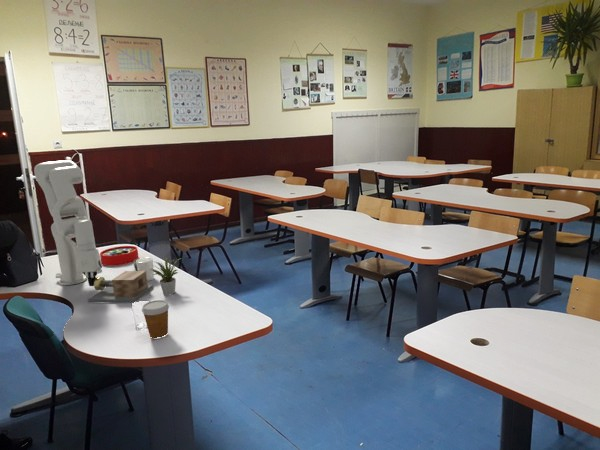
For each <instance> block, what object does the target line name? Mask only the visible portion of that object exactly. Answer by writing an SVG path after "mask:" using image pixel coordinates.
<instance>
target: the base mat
mask: <svg viewBox="0 0 600 450" xmlns="http://www.w3.org/2000/svg"><path fill="white" fill-rule="evenodd" d="M153 289H154V285H153V284H148V288H146V289H145V290H144V291H142V292H141V293H140V294H139V295H137V296H136V297H114V291H113V287H105V288H104V289H103V290H99V291H98V292H97V293H95V294H94V295H91V297H89V298H88V299H87V303H88V302H116V303H115V304H117V302H118V304H119V303H120V304H125V303H126V304H129V303H130V304H133V303H132V302H135V301H137V302H138V301H139V300H140V299H141V298H143V297H144V296H145V295H146V294H148V293H149V292H150V291H152V290H153ZM135 303H136V302H135Z"/></svg>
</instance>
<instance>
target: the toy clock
mask: <svg viewBox="0 0 600 450" xmlns="http://www.w3.org/2000/svg"><path fill="white" fill-rule="evenodd" d="M99 255H100V259H101V263H102V264H103V265H102V266H107V267H115V266H124V265H128V264H131V263H134V259H140V258H139V257H140V256H139V250H138V247H137V246H133V245H121V246H115V247H110V248H106V249H104V250H102V251H101V252H99Z"/></svg>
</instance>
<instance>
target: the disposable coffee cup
mask: <svg viewBox="0 0 600 450" xmlns="http://www.w3.org/2000/svg"><path fill="white" fill-rule="evenodd" d="M169 308H170V305H169V303H168V301H166V300H161V299H156V300H151V301H148V302H146V303H144V304H143V305H142V309H141V312H142V314H143V317H144V320H145V323H146V327H147V330H148V334H149V337H152V338H157V337H162V336H164V335H166V334H167V333H168V334H169ZM152 338H151V339H152Z"/></svg>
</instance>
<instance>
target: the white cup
mask: <svg viewBox="0 0 600 450" xmlns="http://www.w3.org/2000/svg"><path fill="white" fill-rule="evenodd" d="M153 261H154V259H153V258H152V257H142V258H138V260H136V264H137V270H138V271H146V277H147V282H149V281H152V280H154V279H155V275H153V274H155V272H154V271H152V270H150V269H154V266H153V265H154V262H153Z"/></svg>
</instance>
